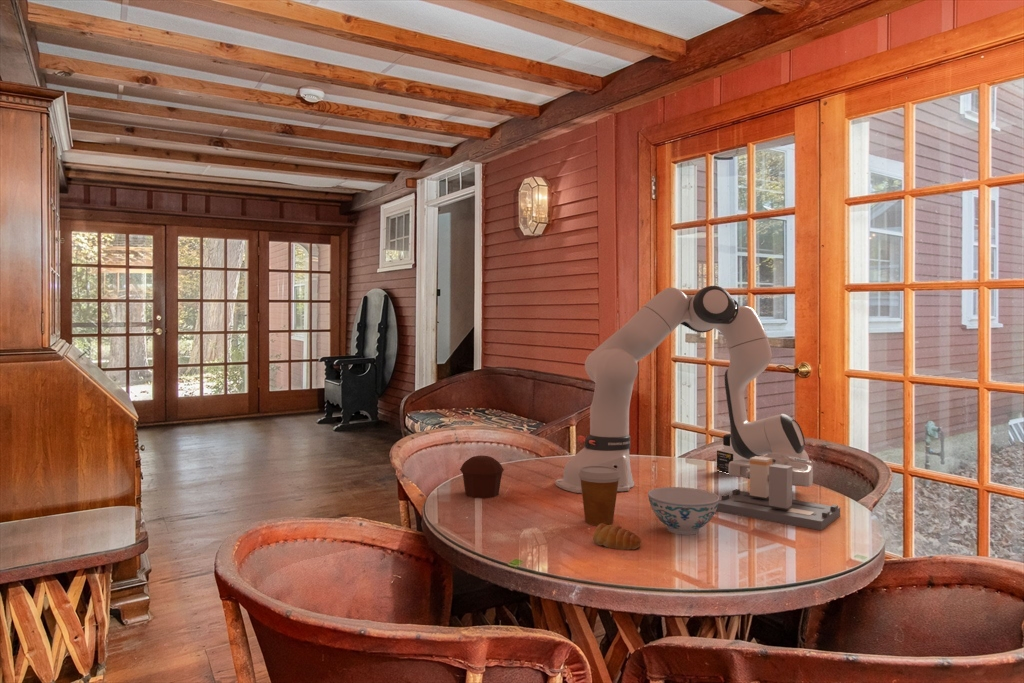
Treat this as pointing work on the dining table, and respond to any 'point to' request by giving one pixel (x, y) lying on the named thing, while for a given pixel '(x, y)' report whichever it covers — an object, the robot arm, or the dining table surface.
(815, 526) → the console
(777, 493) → the fader
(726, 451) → the medicine bottle
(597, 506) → the disposable coffee cup
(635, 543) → the pastry
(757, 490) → the block
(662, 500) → the chinaware
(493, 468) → the muffin
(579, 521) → the dining table surface
